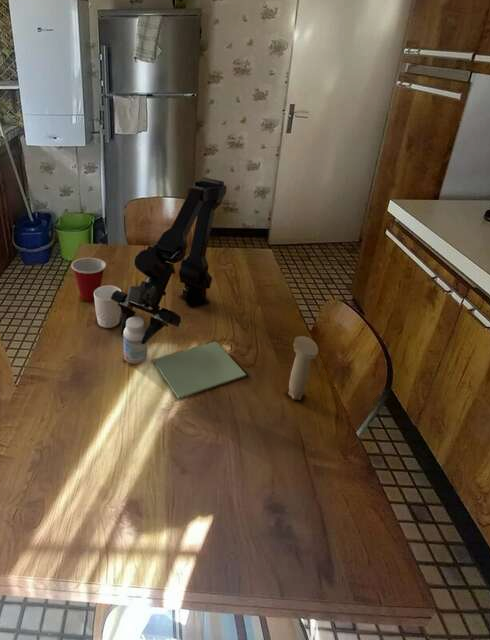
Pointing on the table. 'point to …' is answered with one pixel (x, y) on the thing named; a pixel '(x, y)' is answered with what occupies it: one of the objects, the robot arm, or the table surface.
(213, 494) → the table surface
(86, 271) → the plastic cup
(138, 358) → the pill bottle
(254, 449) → the table surface
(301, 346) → the handle
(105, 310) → the white cup
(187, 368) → the mat
